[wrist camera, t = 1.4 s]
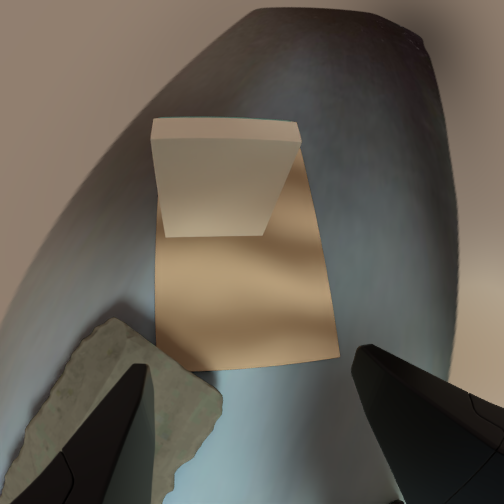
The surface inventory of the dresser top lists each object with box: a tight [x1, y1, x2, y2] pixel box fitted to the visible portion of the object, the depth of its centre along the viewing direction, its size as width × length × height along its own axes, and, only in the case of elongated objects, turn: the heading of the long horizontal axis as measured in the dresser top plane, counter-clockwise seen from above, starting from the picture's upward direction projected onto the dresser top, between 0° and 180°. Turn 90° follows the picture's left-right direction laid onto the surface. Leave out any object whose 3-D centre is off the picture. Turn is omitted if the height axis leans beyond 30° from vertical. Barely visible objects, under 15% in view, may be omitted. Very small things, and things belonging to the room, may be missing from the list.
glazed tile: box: [150, 117, 302, 238], centre depth 19 cm, size 2×7×10 cm, turn 95°
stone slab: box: [0, 317, 223, 504], centre depth 14 cm, size 22×3×10 cm
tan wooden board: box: [155, 148, 340, 372], centre depth 23 cm, size 18×12×1 cm
